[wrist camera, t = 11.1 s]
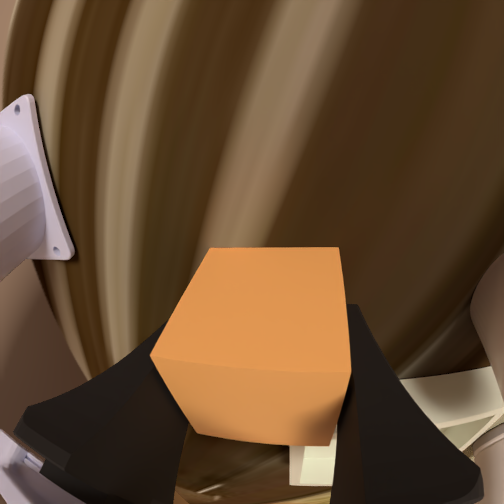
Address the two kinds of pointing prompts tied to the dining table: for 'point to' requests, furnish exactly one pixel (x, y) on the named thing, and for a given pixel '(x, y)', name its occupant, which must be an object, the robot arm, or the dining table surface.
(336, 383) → the block
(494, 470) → the travel mug
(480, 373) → the tray
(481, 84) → the dining table surface
